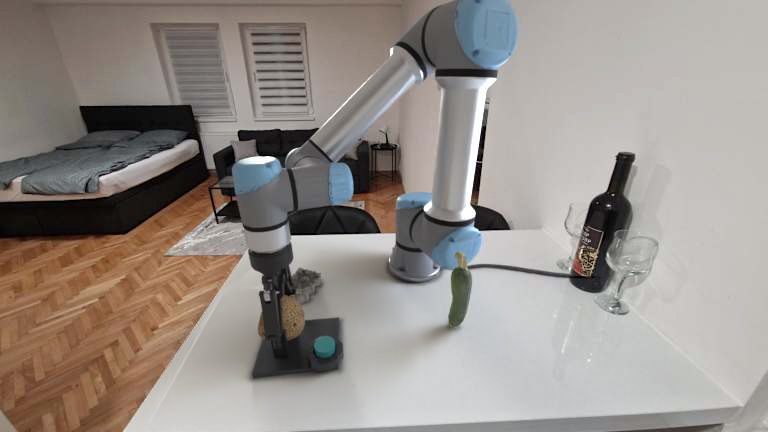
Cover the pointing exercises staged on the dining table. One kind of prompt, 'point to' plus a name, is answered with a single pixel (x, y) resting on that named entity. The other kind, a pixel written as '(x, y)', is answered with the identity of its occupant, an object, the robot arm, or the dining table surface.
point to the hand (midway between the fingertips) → (286, 337)
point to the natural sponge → (288, 318)
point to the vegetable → (460, 291)
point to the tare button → (324, 347)
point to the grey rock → (305, 283)
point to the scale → (301, 352)
